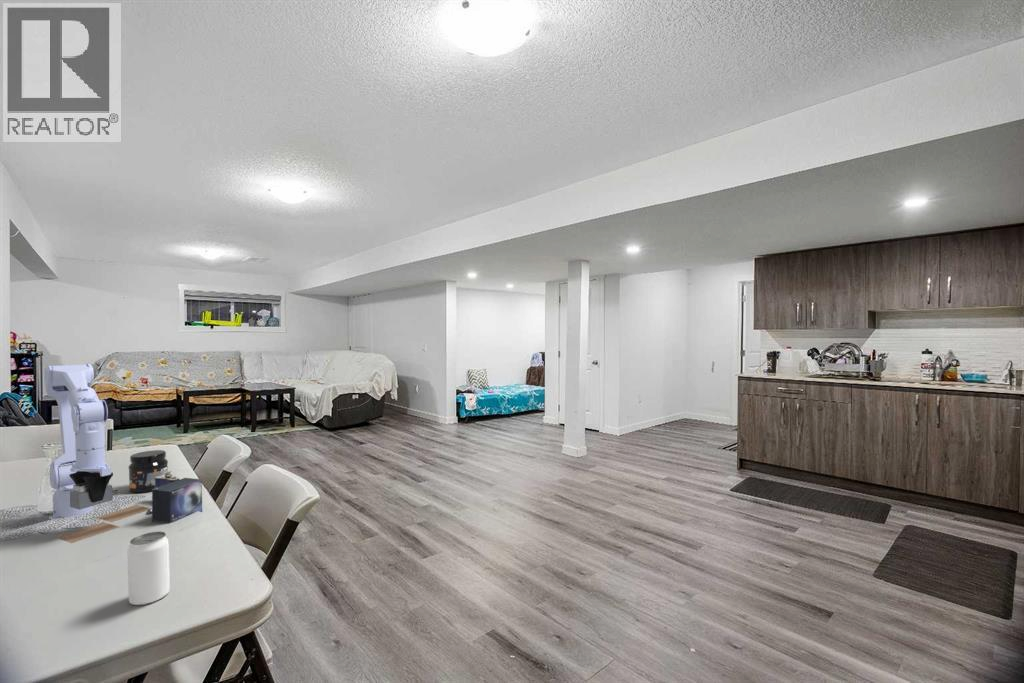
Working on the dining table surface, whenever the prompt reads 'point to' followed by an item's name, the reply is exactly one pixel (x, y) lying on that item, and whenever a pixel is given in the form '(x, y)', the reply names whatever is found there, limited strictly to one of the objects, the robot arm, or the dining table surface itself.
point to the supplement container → (146, 470)
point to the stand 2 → (123, 513)
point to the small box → (176, 500)
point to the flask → (164, 479)
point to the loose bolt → (149, 512)
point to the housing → (87, 496)
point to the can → (148, 568)
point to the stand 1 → (87, 532)
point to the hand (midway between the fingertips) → (92, 499)
